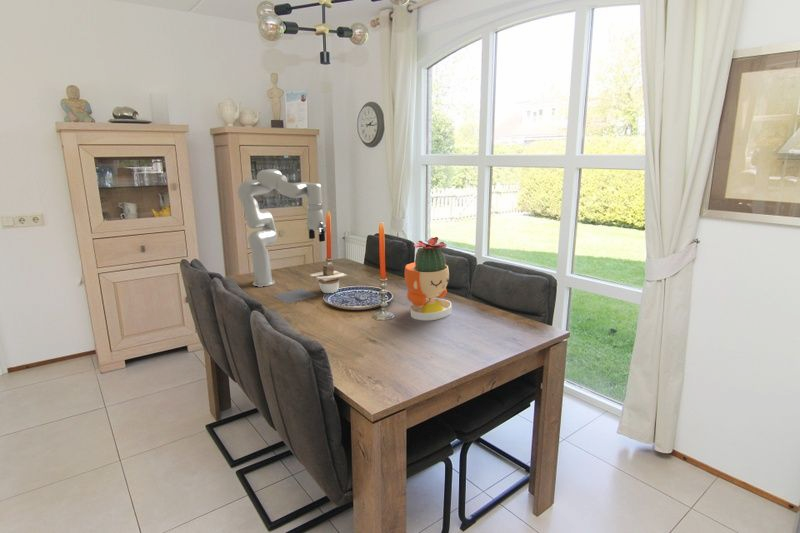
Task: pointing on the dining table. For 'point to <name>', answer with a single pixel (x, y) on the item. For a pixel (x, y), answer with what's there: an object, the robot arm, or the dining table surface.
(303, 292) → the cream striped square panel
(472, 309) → the dining table surface
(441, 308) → the potted cactus
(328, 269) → the birch lid
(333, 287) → the lidded jar
